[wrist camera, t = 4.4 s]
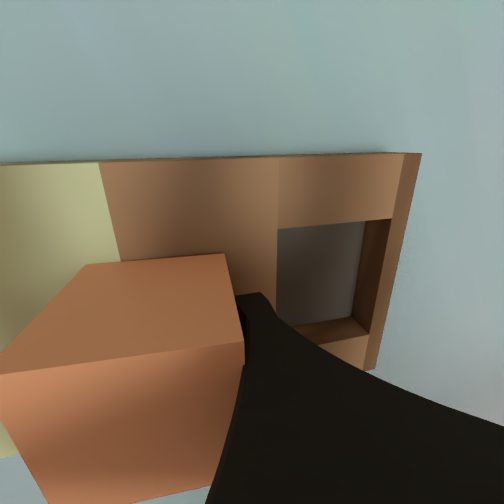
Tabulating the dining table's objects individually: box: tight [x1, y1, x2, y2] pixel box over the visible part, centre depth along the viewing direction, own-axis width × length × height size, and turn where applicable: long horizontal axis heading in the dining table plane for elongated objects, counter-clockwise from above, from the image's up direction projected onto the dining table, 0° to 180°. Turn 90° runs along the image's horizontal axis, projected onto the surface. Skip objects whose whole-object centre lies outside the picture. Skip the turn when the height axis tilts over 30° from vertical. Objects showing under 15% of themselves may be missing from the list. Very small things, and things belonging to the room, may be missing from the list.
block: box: [0, 253, 245, 504], centre depth 8 cm, size 4×4×4 cm
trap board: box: [0, 152, 422, 459], centre depth 10 cm, size 23×11×2 cm, turn 91°
